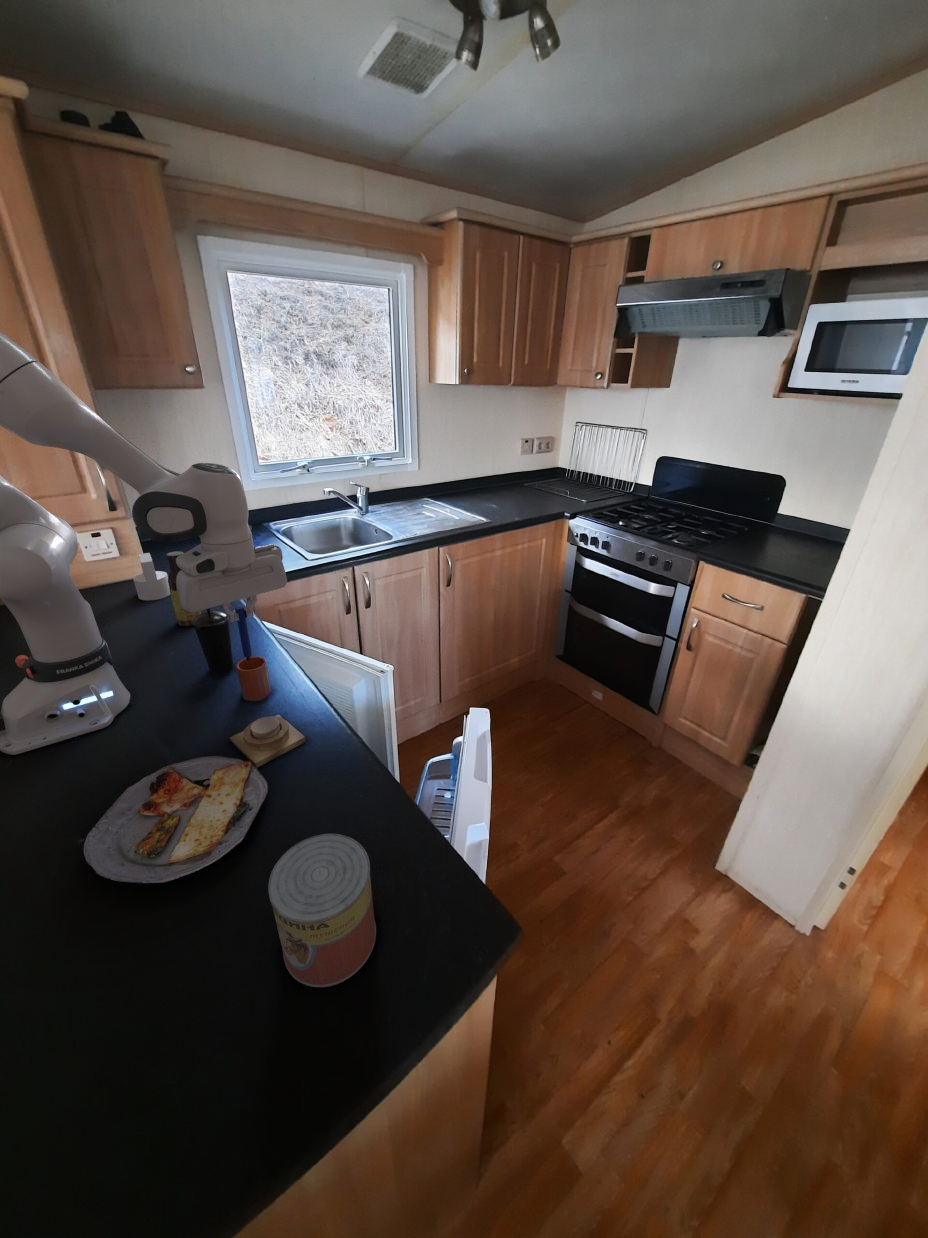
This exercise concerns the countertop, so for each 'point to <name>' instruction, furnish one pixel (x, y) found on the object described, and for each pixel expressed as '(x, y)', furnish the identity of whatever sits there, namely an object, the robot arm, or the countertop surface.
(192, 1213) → the countertop surface
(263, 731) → the face circle
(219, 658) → the drinking cup
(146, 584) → the base with upright slab
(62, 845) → the countertop surface
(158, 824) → the food plate
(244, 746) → the wooden square stand base
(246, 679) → the pen pot
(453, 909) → the countertop surface
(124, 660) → the countertop surface
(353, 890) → the canned food
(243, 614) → the rod
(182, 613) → the sauce bottle
